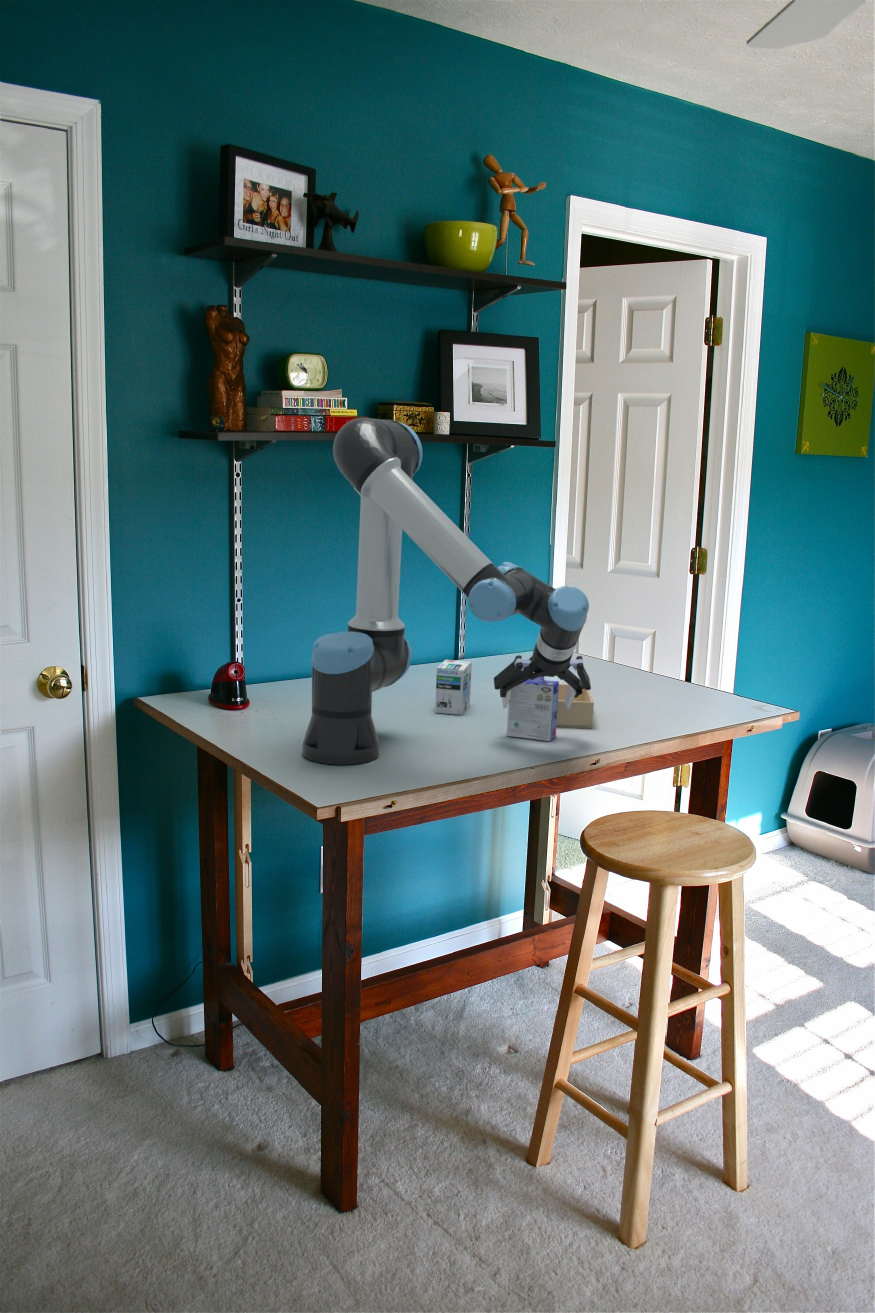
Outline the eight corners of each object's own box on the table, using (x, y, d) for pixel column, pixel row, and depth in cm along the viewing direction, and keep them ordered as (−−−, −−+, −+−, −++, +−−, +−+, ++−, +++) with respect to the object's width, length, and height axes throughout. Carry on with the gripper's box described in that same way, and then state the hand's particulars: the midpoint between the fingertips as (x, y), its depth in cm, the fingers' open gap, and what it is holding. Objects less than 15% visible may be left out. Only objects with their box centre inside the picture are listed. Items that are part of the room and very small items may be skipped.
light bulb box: (462, 715, 227) (464, 670, 225) (434, 713, 229) (435, 667, 226) (470, 705, 238) (472, 661, 235) (443, 702, 239) (444, 658, 237)
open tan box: (523, 725, 221) (524, 699, 220) (520, 685, 259) (521, 663, 258) (592, 729, 220) (593, 702, 219) (579, 688, 258) (580, 666, 257)
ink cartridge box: (557, 735, 213) (561, 670, 211) (551, 742, 208) (555, 675, 206) (512, 730, 217) (516, 665, 214) (506, 736, 211) (509, 670, 209)
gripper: (493, 662, 191) (479, 717, 208) (619, 663, 193) (595, 718, 211) (490, 630, 195) (476, 687, 212) (614, 632, 197) (590, 688, 215)
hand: (535, 703), depth 212 cm, fingers open, 13 cm apart
